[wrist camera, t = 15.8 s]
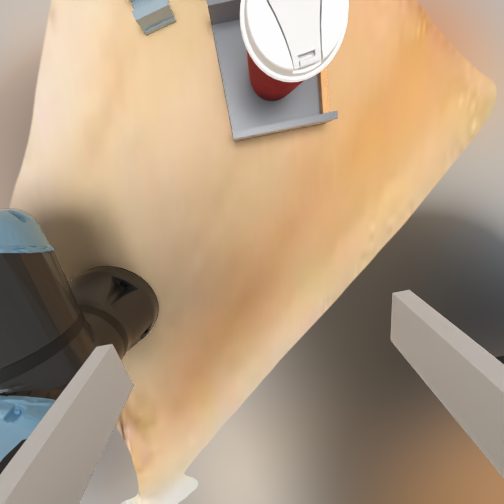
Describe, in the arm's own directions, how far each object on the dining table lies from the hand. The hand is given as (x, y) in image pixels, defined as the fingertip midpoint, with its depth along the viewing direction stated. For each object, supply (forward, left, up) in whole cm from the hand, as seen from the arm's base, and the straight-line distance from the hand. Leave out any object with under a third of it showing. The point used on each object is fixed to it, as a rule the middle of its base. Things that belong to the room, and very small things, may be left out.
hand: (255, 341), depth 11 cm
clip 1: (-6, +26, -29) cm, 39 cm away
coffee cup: (+7, +17, -28) cm, 34 cm away
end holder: (+7, +17, -29) cm, 34 cm away
